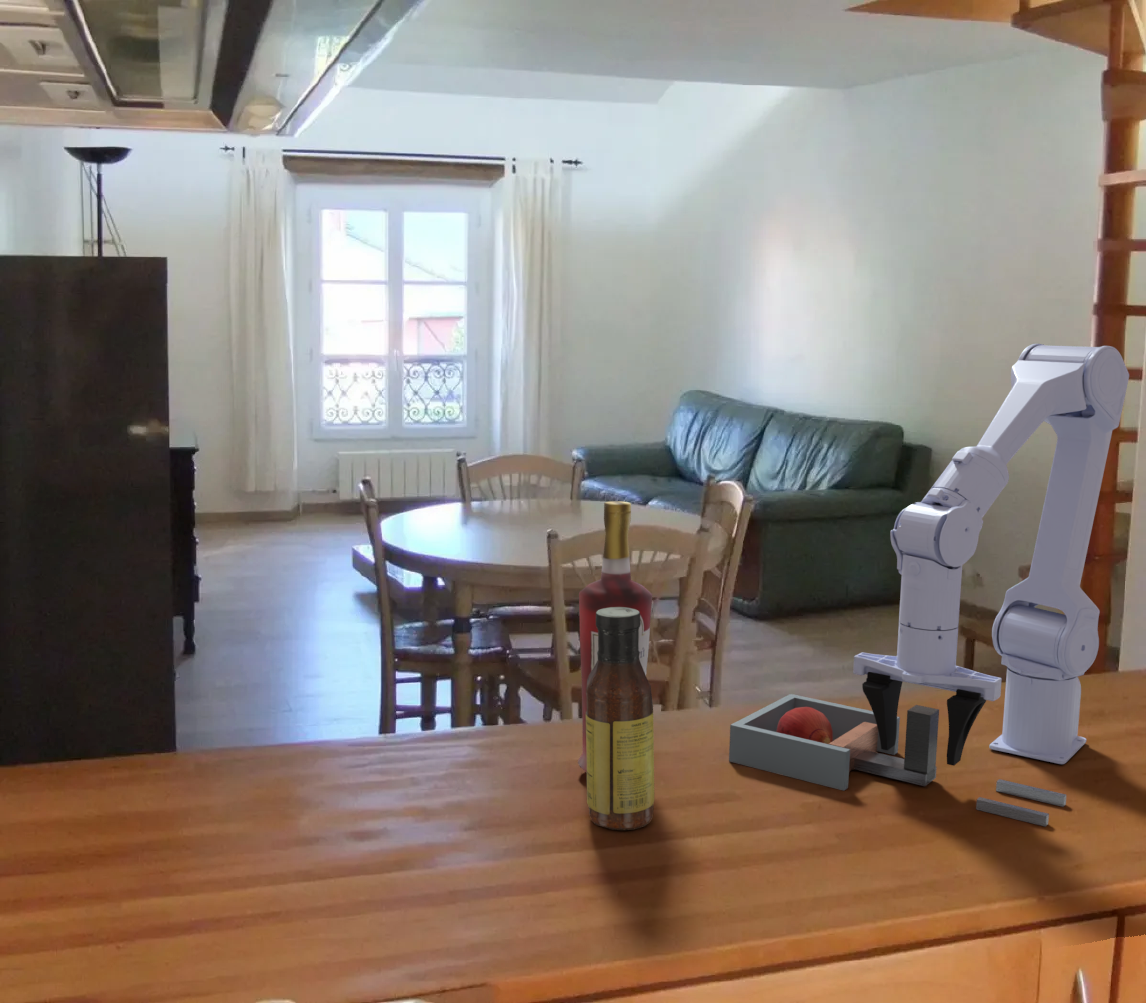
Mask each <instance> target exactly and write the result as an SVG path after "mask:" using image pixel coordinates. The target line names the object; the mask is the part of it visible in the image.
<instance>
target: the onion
mask: <svg viewBox="0 0 1146 1003" xmlns="http://www.w3.org/2000/svg"><path fill="white" fill-rule="evenodd" d="M776 732H778V733H782V734H786V735H791V736H795V737H799V738H804V739H808V740H812V741H816V742H821V743H825V744H829V743H831V742H832V740H833V731H832V727H831V724H830V722H829V721H828V719H827V718H826V717H825V715H824V714H823V713H821V712H819V711H817V710H815V709H813V708H811V707H799V708H794V709H792V710H790V711H788V712H786V713H785V714H784V715H783V716H782V717H781V718H780V721H779V723H778V726H777V730H776Z"/></svg>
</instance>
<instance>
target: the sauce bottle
mask: <svg viewBox="0 0 1146 1003" xmlns="http://www.w3.org/2000/svg"><path fill="white" fill-rule="evenodd" d="M640 625H641V621H640V612H639V611H638V610H636V609H631V608H627V607H610V608H604V609H600V610H598V611H597V612H596V627H597V629H598V652H597V655H598V661H597V663H596V664H595V666H594V668H593V669H592V671H591V673H590V674H589V676H588V679H587V687H586V695H587V711H586V751H587V773H586V804H587V806H588V814H589V817H590V820H591V821H592V823H593V824H594V825H596V826H600V827H603V828H606V829H608V830H611V831H633V830H637V829H641V828H643V827H646V826H647V825H649V824H650V822H651V821H652V819H653V817H654V803H655V761H654V760H655V759H654V758H655V757H654V755H655V754H654V753H655V752H654V750H655V748H654V747H655V746H654V745H655V744H654V742H655V740H654V705H653V697H652V696H653V695H652V686H651V684H650V681H649V680H648V678H647V674H646V675H645V673H644V670H643V668H642V665H641V663H640V659H639V655H640V652H639V645H638V643H639V640H638V638H639V636H638V634H639V632H638V631H639V627H640Z"/></svg>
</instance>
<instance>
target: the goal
mask: <svg viewBox="0 0 1146 1003" xmlns="http://www.w3.org/2000/svg"><path fill="white" fill-rule="evenodd" d="M799 707H811V708H813V709H815V710H817V711H819V712H821V713H823V714H824V715H825V717H826V718H827V719H828V721H829V722H830V724H831V727H832V731H833V740H832V741H834V740H836V739H837V738H839V737H840V736H842V735H844V734H845V733H847V732H848V731H850V730H852V729H853V728H855V727H856V726H858V725H860V724H861V723H863V722H868V723H873V724H877V723H876V720H875V716H874V714H873V711H872V710H869V709H863V708H861V707H860V708H858V707H855V706H849V705H846V704H840V703H835V702H832V701H831V702H830V701H826V700H823V699H818V698H812V697H807V696H802V695H797V694H794V693H789V694H788V695H786V696H784V697H781V698H779V699H778V700H776V701H774V702H772V703H770V704H768V705H767V706H764V707H763V708H760V709H758V710H757V711H755V712H752V713H751V714H749V715H747V716H745V717H743V718H741V719H739V720H737V721H735V722H733V723H731V724H730V726H729V728H730V729H729V750H728V752H729V753H728V762H729V763H735V764H738V765H741V766H742V765H743V766H746V767H750V768H755V769H756V770H761V771H765V772H770V773H774V774H778V775H781V776H786V777H789V778H793V779H797V780H801V781H805V782H809V783H812V784H817V785H819V786H820V785H821V786H824V787H829V788H832V789H836V790H840V791H845V790H847V789H848V788H849V778H850V777H849V775H850V772H849V761H850V749H846V748H842V747H838V746H833V745H829V744H825V743H821V742H816V741H812V740H808V739H804V738H799V737H795V736H791V735H786V734H782V733H778V732H776V730H777V726H778V723H779V721H780V718H781V717H782V716H783V715H784V714H785V713H786V712H788V711H790V710H792V709H794V708H799ZM900 720H901V717H900V716H897V734H896V742H895V746H893V747H892V748H890V749H889V750H883V749H881V742H880V737H879V731H878V740H877V752H878V753H882V754H884V753H885V754H886V755H888V754H889V755H891V756H895V755H896V754H898V753H899V739H900V738H899V737H900V736H899V735H900V724H901V723H900Z"/></svg>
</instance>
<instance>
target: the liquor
mask: <svg viewBox="0 0 1146 1003" xmlns="http://www.w3.org/2000/svg"><path fill="white" fill-rule="evenodd" d="M631 520H632V503H631V502H628V501H618V500H615V501H614V500H611V501H605V502H604V503H603V522H604V523H603V524H604V530H605V535H604V545H603V553H602V554H603V556H602V562H601V563H602V564H601V565H602V566H601V573H600V574H601V575H600V579H598V580H595V581H593V582H590V583H588V584H587V585H586V586H585V587H584V588H582V589H581V590H579V592H578V602H579V603H578V605H579V608H578V609H579V611H578V612H579V647H580V648H579V650H580V653H579V654H580V670H581V671H580V672H581V673H580V674H581V675H580V676H581V709H582V710H581V712H582V714H581V715H582V718H581V720H582V723H581V724H582V731H581V732H582V753H581V755H580V756H579V758H578V760H577V764H578V766H579V767H580V768H581V769H582V770H583V771H584V773H586V774H587V751H586V711H587V695H586V687H587V679H588V676H589V674H590V673H591V671H592V669H593V668H594V666H595V664H596V663H597V661H598V655H597V652H598V629H597V627H596V612H597V611H598V610H600V609H604V608H610V607H627V608H631V609H636V610H638V611H639V612H640V621H641V625H640V627H639V631H638V632H639V634H638V636H639V638H638V640H639V643H638V645H639V652H640V655H639V659H640V663H641V665H642V668H643V670H644V673H645V675H646V676H647V669H648V658H649V647H650V637H651V636H650V634H651V633H650V632H651V620H652V605H653V604H652V603H653V593H651V591H650V590H649V589H648V588H646V587H645V586H644V585H643V584H641V583H639V582H636V581H634V580H632V575H631V574H632V573H631V560H630V548H629V547H630V546H629V530H630V526H631Z"/></svg>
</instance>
